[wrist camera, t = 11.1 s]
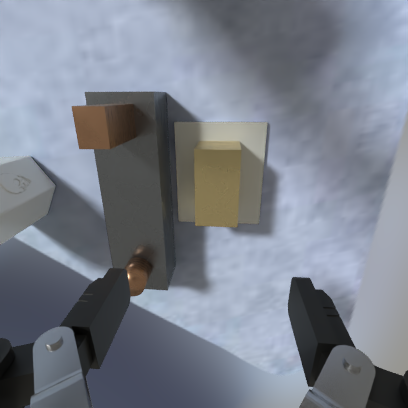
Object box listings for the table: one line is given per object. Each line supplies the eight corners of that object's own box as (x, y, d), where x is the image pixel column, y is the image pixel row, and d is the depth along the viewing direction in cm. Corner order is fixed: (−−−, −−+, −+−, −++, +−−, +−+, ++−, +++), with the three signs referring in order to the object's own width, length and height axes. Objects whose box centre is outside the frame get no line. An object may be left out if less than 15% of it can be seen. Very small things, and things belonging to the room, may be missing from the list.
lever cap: (199, 140, 29) (194, 149, 25) (239, 141, 29) (241, 149, 24) (200, 207, 32) (195, 225, 28) (236, 208, 32) (237, 227, 27)
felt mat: (174, 121, 29) (174, 122, 29) (266, 122, 28) (267, 122, 28) (179, 219, 34) (178, 221, 33) (258, 222, 33) (258, 224, 33)
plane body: (107, 92, 29) (41, 91, 18) (166, 92, 28) (130, 90, 18) (130, 263, 37) (92, 326, 27) (175, 265, 36) (154, 331, 26)
